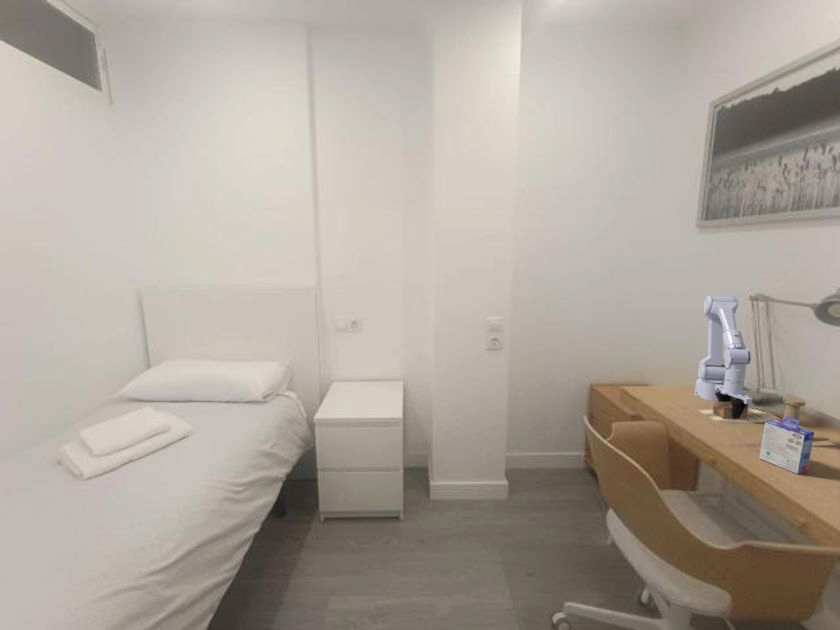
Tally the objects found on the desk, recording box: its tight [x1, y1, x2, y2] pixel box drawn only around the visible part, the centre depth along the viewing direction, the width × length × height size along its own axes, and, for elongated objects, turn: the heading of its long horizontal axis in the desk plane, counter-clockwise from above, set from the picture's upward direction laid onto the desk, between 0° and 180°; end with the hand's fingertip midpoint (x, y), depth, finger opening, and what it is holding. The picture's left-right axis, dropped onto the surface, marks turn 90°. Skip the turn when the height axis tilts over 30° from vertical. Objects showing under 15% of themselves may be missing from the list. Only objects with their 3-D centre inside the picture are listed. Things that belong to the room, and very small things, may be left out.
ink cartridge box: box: [759, 416, 815, 474], centre depth 118 cm, size 10×6×14 cm, turn 24°
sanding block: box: [713, 401, 749, 419], centre depth 148 cm, size 5×9×4 cm, turn 92°
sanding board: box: [697, 407, 783, 425], centre depth 149 cm, size 16×28×2 cm, turn 92°
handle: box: [782, 394, 807, 424], centre depth 131 cm, size 5×6×15 cm
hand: (729, 414), depth 149 cm, fingers closed on sanding block, 5 cm apart
